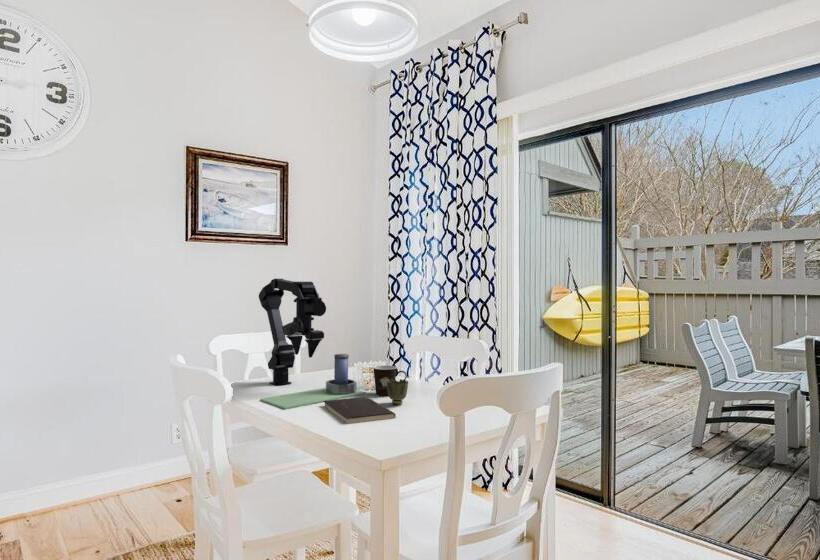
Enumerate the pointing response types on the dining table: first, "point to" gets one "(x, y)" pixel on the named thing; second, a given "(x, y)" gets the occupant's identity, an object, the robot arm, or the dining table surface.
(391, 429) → the dining table surface
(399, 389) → the cup
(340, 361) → the golf ball sleeve
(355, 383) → the cup
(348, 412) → the hardcover book
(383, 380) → the coffee mug
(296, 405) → the putting mat
